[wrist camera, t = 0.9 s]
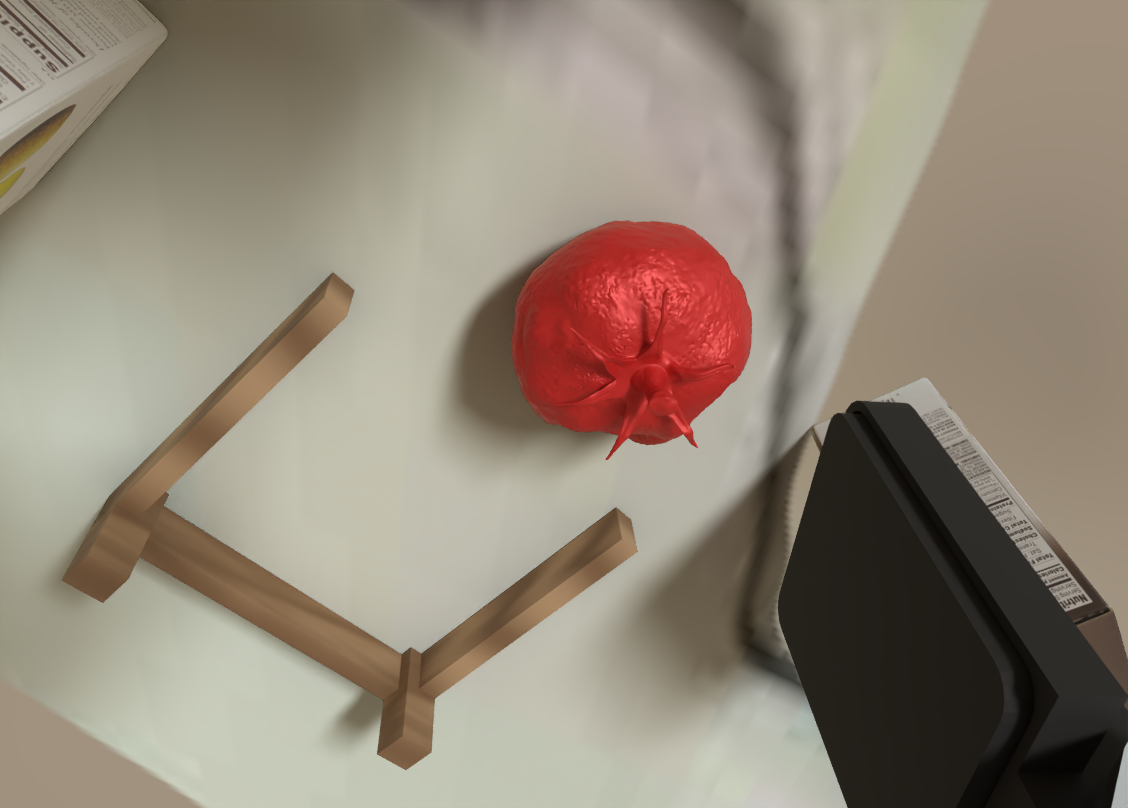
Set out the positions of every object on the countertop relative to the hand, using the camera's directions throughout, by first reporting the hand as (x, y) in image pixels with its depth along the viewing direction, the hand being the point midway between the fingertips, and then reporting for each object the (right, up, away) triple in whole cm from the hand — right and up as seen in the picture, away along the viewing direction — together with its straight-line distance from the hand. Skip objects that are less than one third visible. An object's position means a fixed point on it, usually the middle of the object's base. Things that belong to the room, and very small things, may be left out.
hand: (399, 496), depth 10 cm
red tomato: (+4, +6, +31) cm, 32 cm away
